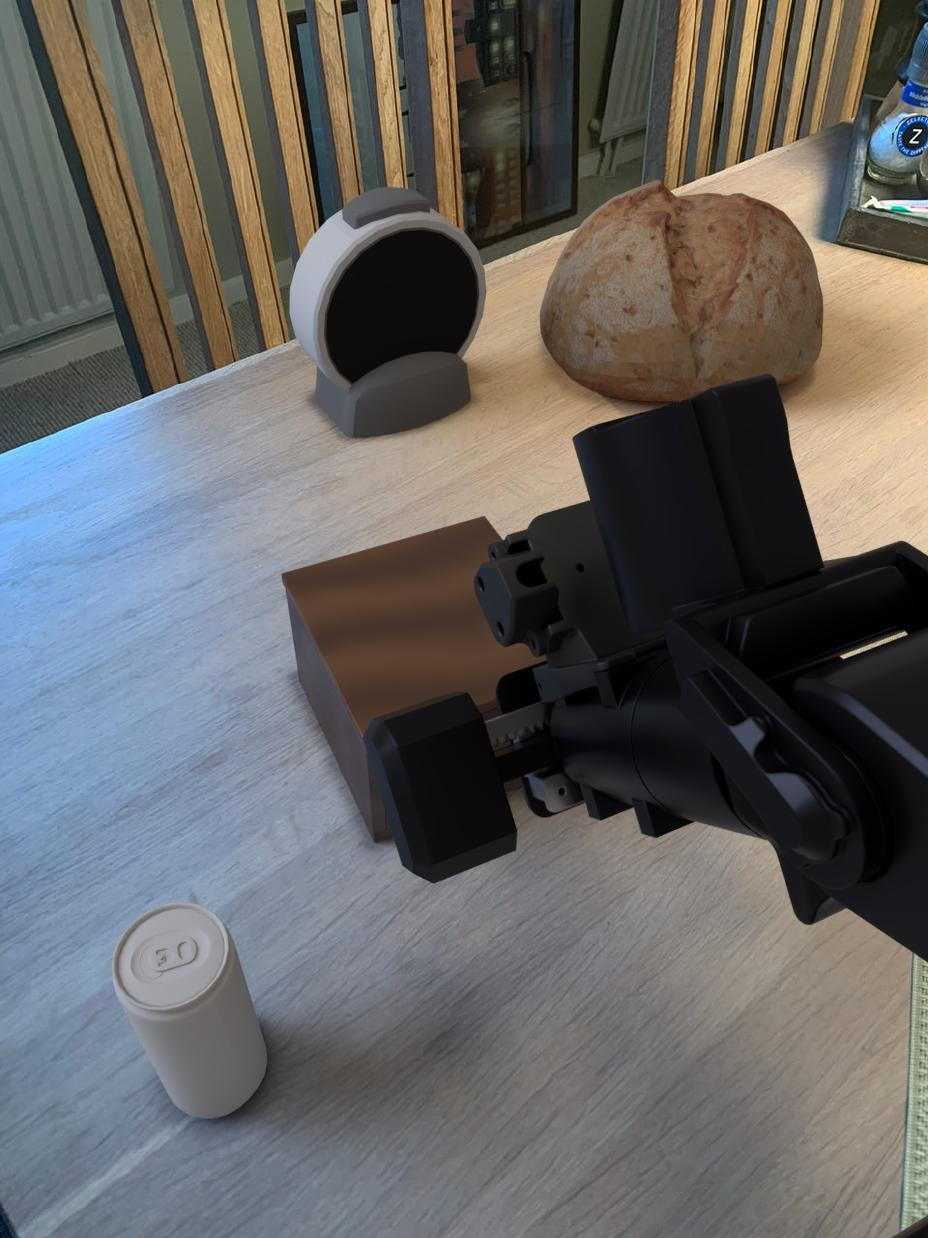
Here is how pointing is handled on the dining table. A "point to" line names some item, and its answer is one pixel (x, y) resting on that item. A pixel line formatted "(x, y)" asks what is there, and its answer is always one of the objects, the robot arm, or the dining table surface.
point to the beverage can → (191, 1007)
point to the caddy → (347, 731)
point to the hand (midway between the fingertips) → (530, 715)
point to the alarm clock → (388, 312)
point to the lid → (405, 622)
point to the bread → (682, 296)
